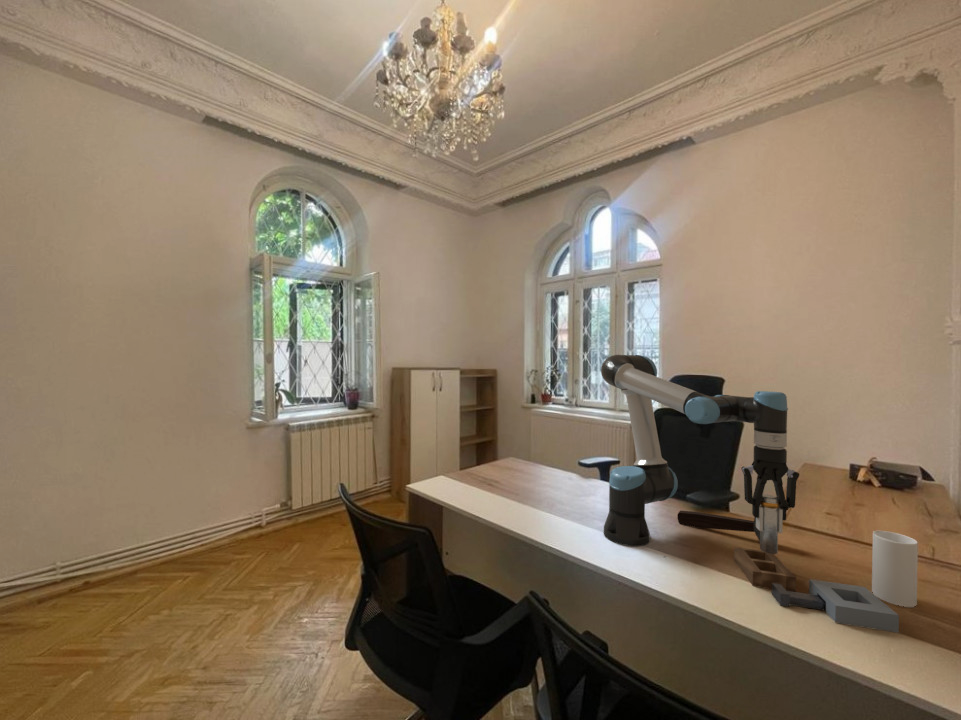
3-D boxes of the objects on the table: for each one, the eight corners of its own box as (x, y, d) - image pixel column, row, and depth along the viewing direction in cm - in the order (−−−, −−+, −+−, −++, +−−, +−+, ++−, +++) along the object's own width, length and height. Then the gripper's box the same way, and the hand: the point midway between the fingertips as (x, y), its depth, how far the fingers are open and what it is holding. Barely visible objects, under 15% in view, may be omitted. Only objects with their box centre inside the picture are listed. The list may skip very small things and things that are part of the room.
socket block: (835, 622, 94) (835, 605, 94) (808, 594, 106) (809, 579, 106) (898, 632, 91) (898, 615, 91) (864, 602, 103) (864, 586, 103)
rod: (762, 552, 110) (763, 498, 110) (756, 546, 114) (757, 493, 115) (781, 555, 109) (782, 500, 109) (774, 548, 113) (775, 495, 113)
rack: (752, 585, 109) (752, 571, 109) (734, 559, 124) (734, 546, 124) (795, 592, 107) (795, 577, 107) (771, 565, 121) (771, 551, 121)
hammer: (678, 534, 150) (777, 548, 132) (675, 504, 151) (772, 513, 133) (681, 530, 154) (778, 543, 135) (678, 500, 155) (773, 509, 136)
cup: (863, 589, 109) (864, 530, 109) (890, 588, 109) (891, 530, 109) (897, 608, 100) (898, 544, 101) (926, 607, 101) (927, 543, 101)
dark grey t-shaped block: (780, 605, 100) (780, 593, 100) (771, 594, 105) (771, 582, 105) (827, 612, 98) (828, 600, 98) (816, 601, 102) (817, 589, 102)
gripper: (740, 447, 111) (738, 531, 111) (813, 451, 106) (812, 540, 106) (731, 442, 118) (730, 521, 118) (799, 446, 113) (798, 528, 113)
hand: (768, 530), depth 112 cm, fingers closed on rod, 4 cm apart
